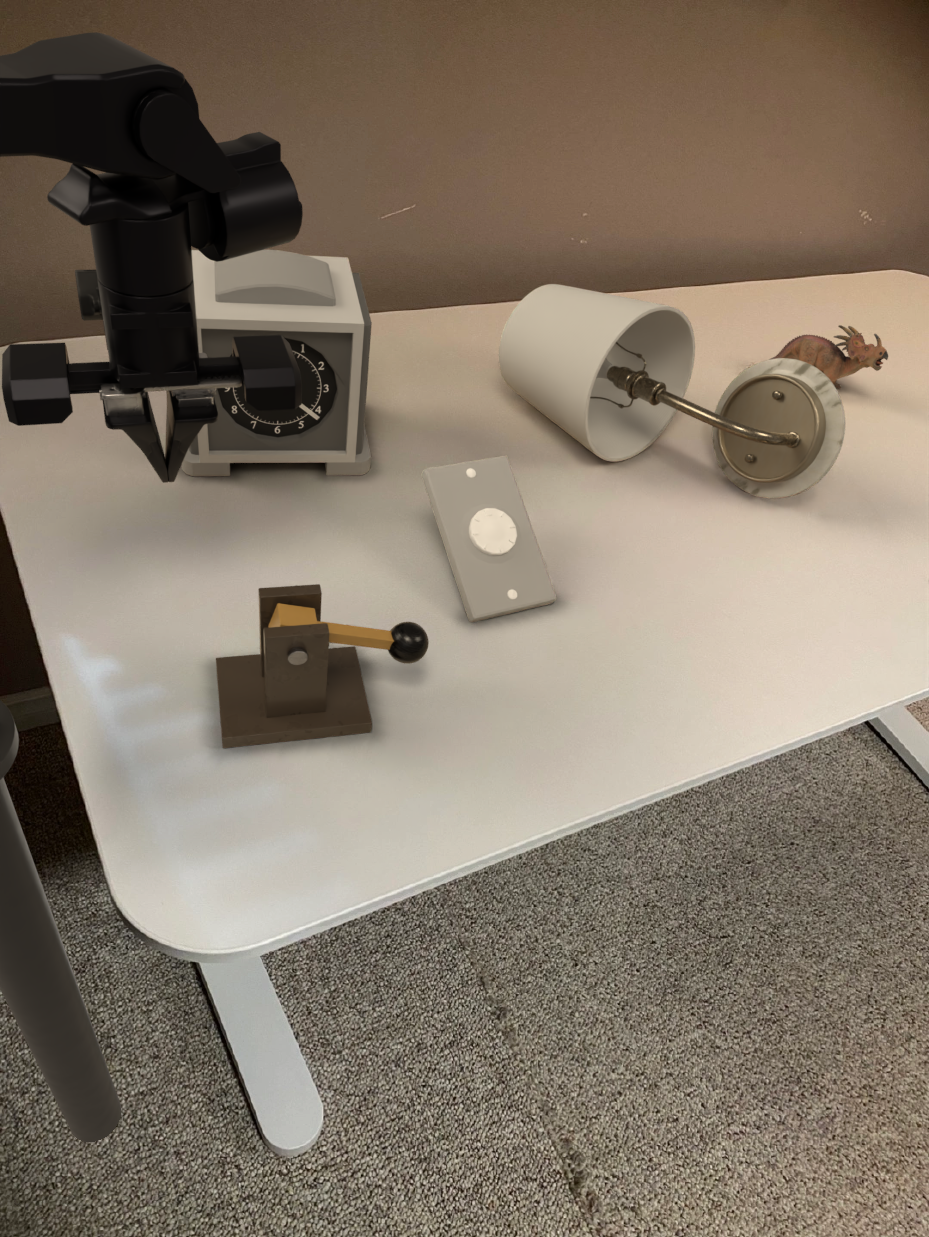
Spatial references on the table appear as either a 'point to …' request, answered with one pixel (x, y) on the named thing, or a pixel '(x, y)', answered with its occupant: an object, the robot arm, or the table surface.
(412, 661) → the lever
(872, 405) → the table surface
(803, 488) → the light fixture
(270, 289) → the alarm clock
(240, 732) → the switch bracket
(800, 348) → the dinosaur figurine
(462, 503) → the light switch
